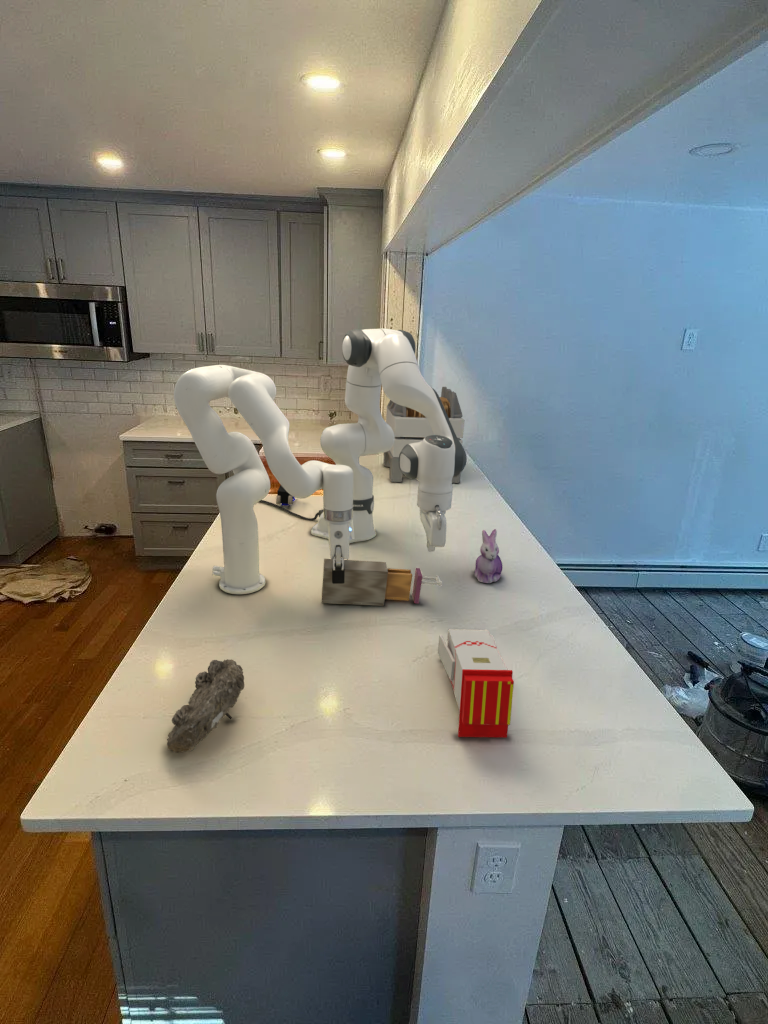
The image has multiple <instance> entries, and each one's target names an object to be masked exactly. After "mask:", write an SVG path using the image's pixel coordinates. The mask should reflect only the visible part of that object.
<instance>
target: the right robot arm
mask: <svg viewBox="0 0 768 1024" xmlns="http://www.w3.org/2000/svg"><path fill="white" fill-rule="evenodd" d="M341 342H342V344H341V352H342V353H341V354H342V357H343V360H344V362H345V363H346V364H347V365H348V367H347V373H346V382H345V390H344V391H345V392H344V393H345V394H344V405H345V406H346V408H347V409H348V410H349V412H352V413H353V414H355V415H356V416H357V417H358V419H357V422H349V423H337V424H334V425H331V426H327V427H325V428H324V429H323V430H322V432H321V435H320V439H319V440H320V441H319V442H320V448H321V450H322V452H323V453H324V454H325V455H326V456H327V457H328V458H330V459H331V460H332V461H333V462H334V465H346V466H349V467H350V468H351V469H352V470H353V520H352V521H351V522H349V544H352V543H357V542H365V541H368V540H372V539H373V538H375V537H376V535H377V532H376V528H375V523H374V513H373V512H374V509H375V496H374V474H373V472H372V471H371V469H369V468H367V467H366V466H364V465H362V464H361V463H360V457H366V456H367V457H368V456H377V455H380V454H384V452H387V451H389V450H390V449H391V448H392V446H393V444H394V440H395V437H394V432H393V430H392V428H391V427H390V426H389V425H388V424H387V423H386V420H385V419H384V417H383V416H382V412H381V392H382V391H381V390H383V393H384V394H385V396H386V397H387V399H388V400H389V401H390V400H391V401H393V402H394V403H396V404H398V405H401V406H405V407H408V408H411V409H413V410H416V411H418V412H420V413H421V414H423V415H424V416H425V417H426V418H427V419H428V421H429V424H430V426H431V428H432V431H433V433H434V435H429V436H426V437H425V438H424V439H423V441H420V442H416V443H410V444H407V445H405V446H404V447H403V449H402V450H401V452H400V455H399V469H400V471H401V472H402V473H403V476H404V477H406V478H408V479H410V480H417V481H418V486H417V497H416V506H417V507H418V508H419V519H420V522H421V525H422V527H423V529H424V532H425V534H426V535H425V536H426V548H427V550H428V552H435V551H436V548H444V547H445V546H446V542H447V517H446V516H445V515H446V513H447V511H449V510H450V509H451V508H452V503H453V502H452V501H453V490H454V489H453V488H454V487H453V483H452V478H455V477H457V476H458V475H459V474H460V473H461V474H462V472H463V471H464V469H465V468H466V466H467V460H468V456H467V452H466V450H465V447H464V446H463V443H462V444H461V443H460V441H459V440H458V438H457V436H456V434H455V432H454V429H453V427H452V425H451V422H450V420H449V418H448V415H447V413H446V411H445V408H444V406H443V404H442V402H441V399H440V397H441V396H440V395H439V394H438V392H437V390H436V389H434V388H433V387H432V386H431V385H429V383H427V381H426V379H425V378H424V376H423V375H422V372H421V371H420V367H419V363H418V360H417V356H416V349H417V348H416V341H415V338H414V336H413V334H412V333H411V332H409V331H406V330H403V329H391V328H381V327H379V328H365V329H361V328H355V329H351V330H348V331H347V332H346V333H345V335H344V336H343V338H342V341H341ZM461 474H460V475H461ZM258 503H262V504H266V505H270V506H273V507H275V508H277V509H280V510H281V511H284V512H285V513H287V514H290V515H292V516H294V517H297V518H300V519H301V520H305V521H310V522H312V521H316V520H317V518H318V521H317V523H315V524H314V525H313V526H312V528H311V530H310V533H311V536H315V537H319V538H323V539H326V540H329V534H328V522H326V521H324V519H323V509H320V510H318V511H317V512H316V513H315V514H314V517H311V518H310V517H305V516H303V515H300V514H298V513H296V512H293V511H291V510H290V509H288V508H285V507H281V505H280V504H276V503H273V502H270V501H267V500H264V499H262V500H261V501H259V502H258Z"/></svg>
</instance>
